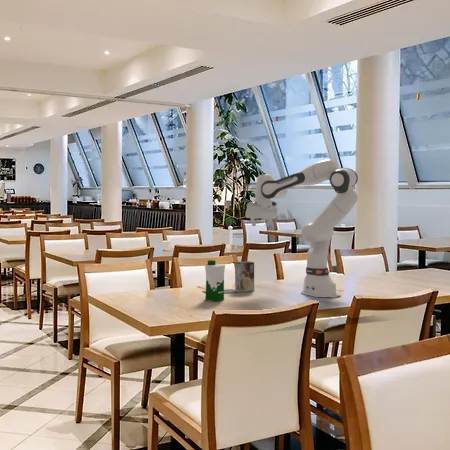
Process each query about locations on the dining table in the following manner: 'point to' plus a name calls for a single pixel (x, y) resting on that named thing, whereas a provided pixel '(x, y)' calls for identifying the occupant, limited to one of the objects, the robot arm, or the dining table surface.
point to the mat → (227, 291)
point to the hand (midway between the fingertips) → (260, 226)
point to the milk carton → (214, 281)
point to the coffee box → (244, 276)
